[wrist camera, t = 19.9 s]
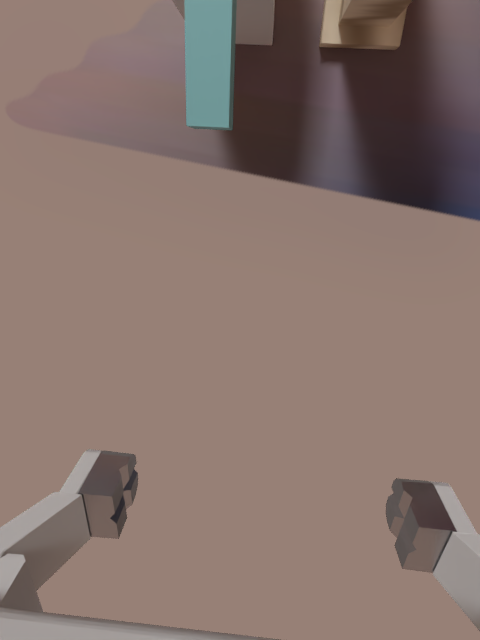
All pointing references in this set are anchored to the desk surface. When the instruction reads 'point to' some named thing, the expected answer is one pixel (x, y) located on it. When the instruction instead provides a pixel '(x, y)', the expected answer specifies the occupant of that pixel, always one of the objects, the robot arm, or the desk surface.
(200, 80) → the teal rectangular bar
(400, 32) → the birch shelf
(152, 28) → the desk surface
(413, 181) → the desk surface
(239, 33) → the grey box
